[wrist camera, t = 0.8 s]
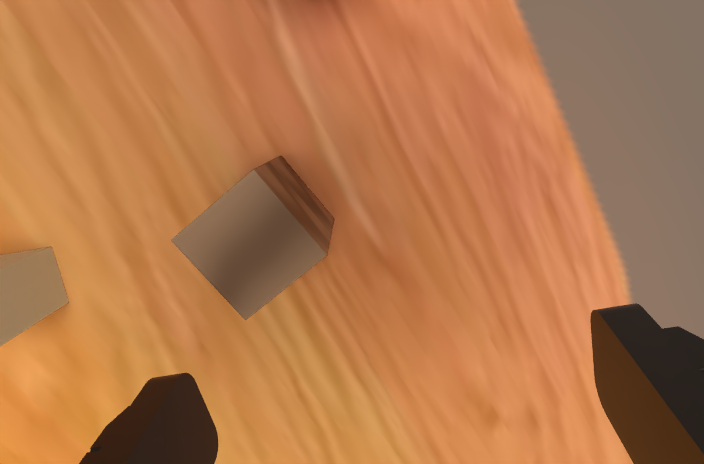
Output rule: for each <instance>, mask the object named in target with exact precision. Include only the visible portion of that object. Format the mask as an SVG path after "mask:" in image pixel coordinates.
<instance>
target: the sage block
mask: <svg viewBox="0 0 704 464" xmlns="http://www.w3.org/2000/svg"><path fill="white" fill-rule="evenodd" d="M68 302H69V301H68V297H67V294H66V291H65V288H64V285H63V281H62V278H61V275H60V272H59V269H58V265H57V262H56V259H55V256H54V252H53V249H52V247H47V248H40V249H34V250H28V251H22V252H15V253H9V254H3V255H0V346H2V345H3V344H5V343H6V342H8V341H9V340H11V339H12V338H14V337H16V336H17V335H19V334H20V333H22V332H23V331H25V330H26V329H28V328H30V327H31V326H33V325H34V324H36V323H37V322H39V321H40V320H42V319H44V318H45V317H47V316H48V315H50V314H51V313H53V312H54V311H56V310H58V309H59V308H61V307H62V306H64V305H65V304H67V303H68Z"/></svg>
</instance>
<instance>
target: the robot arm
mask: <svg viewBox="0 0 704 464" xmlns="http://www.w3.org/2000/svg"><path fill="white" fill-rule="evenodd" d="M591 334H592V348H593V362H594V376H595V383H596V388H597V392H598V396H599V399H600V402H601V404H602V407H603V409H604V411H605V413H606V415H607V417H608V419H609V420H610V422H611V424H612V426H613V428H614V429H615V431H616V433H617V435H618V436H619V438H620V440H621V442H622V444H623V445H624V447H625V449H626V451H627V452H628V454H629V456H630V458H631V460H632V461H633V463H634V464H704V339H702V338H700V337H698V336H696V335H694V334H692V333H690V332H688V331H686V330H684V329H682V328H680V327H671V328H664V329H662V328H661V327H660V326H659V325H658V324H657V323H656V322H655V321H654V320H653V318H652V317H651V316H650V315H649V314H648V313H647V312H646V311H645V310H644V308H643V307H641V306H640V305H639V304H630V305H623V306H617V307H610V308H604V309H598V310H593V311H592V313H591ZM90 449H91V451H90V452H88V453H87V454H86V455H85V456H84V458H83V459H82V460H81V462H80V463H79V464H214V463H215V460H216V457H217V452H218V436H217V431H216V428H215V425H214V423H213V420H212V418H211V416H210V414H209V411H208V409H207V407H206V404H205V402H204V400H203V398H202V395H201V393H200V391H199V388H198V386H197V384H196V382H195V380H194V378H193V377H192V376H191V375H190V374H189V373H181V374H175V375H168V376H162V377H156V378H152V379H150V380H149V381H148V382H147V383H146V384H145V385H144V387H143V388H142V390H141V391H140V393H139V394H138V396H137V397H136V398H135V400H134V401H133V403H132V404H131V406H128V407H127V408H126V409H125V410H124V411H123V412H122V413H120V414H119V415H118V416H117V417H116V418H115V419H114V420H113V421H112V422H110V423H109V424H108V425H107V426H106V427H105V429H104V430H103V431H102V433H101V434H100V436H99V437H98V438H97V440H96V441H95V442H94V444H93V445H92V447H91V448H90Z"/></svg>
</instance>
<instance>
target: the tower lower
mask: <svg viewBox="0 0 704 464" xmlns="http://www.w3.org/2000/svg"><path fill="white" fill-rule="evenodd" d="M270 162H271V164H272V165H273V166H274V167H275V168H276V169H277V171H278V172H279V173H280V174H281V175H282V176H283V178H284V179H285V180H286V181H287V182H288V183H289V185H290V186H291V187H292V188H293V189H294V191H295V192H296V193H297V194H298V195H299V196H300V198H301V199H302V200H303V201H304V202H305V203H306V205H307V206H308V207H309V208H310V209H311V211H312V212H313V213H314V214H315V215H316V216H317V218H318V219H319V220H320V221H321V222H322V223H323V225H324V226H325V227H326V228H327V229H328V230H329V232H330V233H331V234H332V229H333V224H334V218H333V216H332V215H331V214H330V213H329V212H328V210H327V209H326V208H325V207H324V206H323V205H322V203H321V202H320V201H319V200H318V199H317V197H316V196H315V195H314V194H313V193H312V191H311V190H310V189H309V188H308V187H307V185H306V184H305V183H304V182H303V181H302V180H301V178H300V177H299V176H298V175H297V174H296V172H295V171H294V170H293V169H292V168H291V166H290V165H289V164H288V163H287V162H286V161H285V159H284V158H283V157H282V156H280V157H278V158H276V159H274V160H272V161H270Z"/></svg>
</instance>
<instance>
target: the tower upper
mask: <svg viewBox="0 0 704 464" xmlns="http://www.w3.org/2000/svg"><path fill="white" fill-rule="evenodd" d="M330 239H331V233H330V232H329V230H328V229H327V228H326V227H325V226H324V225H323V223H322V222H321V221H320V220H319V219H318V218H317V216H316V215H315V214H314V213H313V212H312V211H311V209H310V208H309V207H308V206H307V205H306V203H305V202H304V201H303V200H302V199H301V198H300V196H299V195H298V194H297V193H296V192H295V191H294V189H293V188H292V187H291V186H290V185H289V183H288V182H287V181H286V180H285V179H284V178H283V176H282V175H281V174H280V173H279V172H278V171H277V169H276V168H275V167H274V166H273V165H272V164H271V162H270V161H269V162H267V163H265V164H263V165H261V166H259V167H257V168H255V169H253V170H252V171H251V172H250V173H249V174H247V175H246V176H245V177H244V178H243V179H242V180H240V181H239V182H238V183H237V184H236V185H235V186H233V187H232V188H231V189H230V190H229V191H228V192H226V193H225V194H224V195H223V196H222V197H221V198H219V199H218V200H217V201H216V202H215V203H214V204H212V205H211V206H210V207H209V208H208V209H207V210H205V211H204V212H203V213H202V214H201V215H200V216H198V217H197V218H196V219H195V220H194V221H192V222H191V223H190V224H189V225H188V226H187V227H185V228H184V229H183V230H182V231H181V232H180V233H178V234H177V235H176V236H175V237H174V238H173V239H171V241H172V242H173V243H174V244H175V245H176V246H177V247H178V248H179V250H180V251H181V252H182V253H183V254H184V255H185V256H186V257H187V258H188V259H189V260H190V261H191V262H192V263H193V265H194V266H195V267H196V268H197V269H198V270H199V271H200V272H201V273H202V274H203V275H204V276H205V277H206V279H207V280H208V281H209V282H210V283H211V284H212V285H213V286H214V287H215V288H216V289H217V290H218V291H219V293H220V294H221V295H222V296H223V297H224V298H225V299H226V300H227V301H228V302H229V303H230V304H231V305H232V307H233V308H234V309H235V310H236V311H237V312H238V313H239V314H240V315H241V316H242V317H243V318H244V319H245V320H247V319H248V318H249V317H250V316H252V315H253V314H254V313H255V312H257V311H258V310H259V309H260V308H262V307H263V306H264V305H265V304H267V303H268V302H269V301H270V300H272V299H273V298H274V297H275V296H277V295H278V294H279V293H281V292H282V291H283V290H284V289H286V288H287V287H288V286H289V285H291V284H292V283H293V282H294V281H296V280H297V279H298V278H299V277H301V276H302V275H303V274H304V273H306V272H307V271H308V270H309V269H311V268H312V267H313V266H314V265H316V264H317V263H318V262H319V261H321V260H322V259H323V258H324V257H326V256H327V254H328V249H329V244H330Z"/></svg>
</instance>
